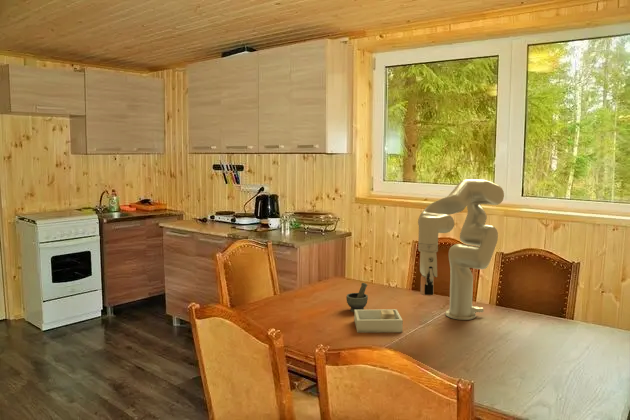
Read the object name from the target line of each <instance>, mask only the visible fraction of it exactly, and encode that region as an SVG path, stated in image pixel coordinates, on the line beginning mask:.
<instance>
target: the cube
mask: <svg viewBox="0 0 630 420" xmlns="http://www.w3.org/2000/svg"><path fill="white" fill-rule="evenodd" d="M381 319H395V314H394V312H393V310H381Z"/></svg>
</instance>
